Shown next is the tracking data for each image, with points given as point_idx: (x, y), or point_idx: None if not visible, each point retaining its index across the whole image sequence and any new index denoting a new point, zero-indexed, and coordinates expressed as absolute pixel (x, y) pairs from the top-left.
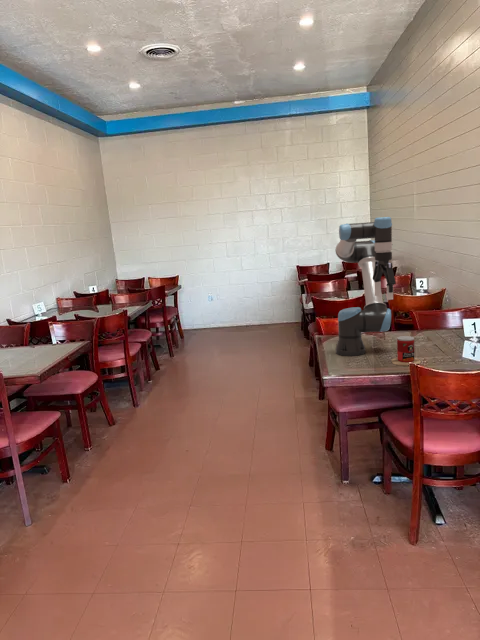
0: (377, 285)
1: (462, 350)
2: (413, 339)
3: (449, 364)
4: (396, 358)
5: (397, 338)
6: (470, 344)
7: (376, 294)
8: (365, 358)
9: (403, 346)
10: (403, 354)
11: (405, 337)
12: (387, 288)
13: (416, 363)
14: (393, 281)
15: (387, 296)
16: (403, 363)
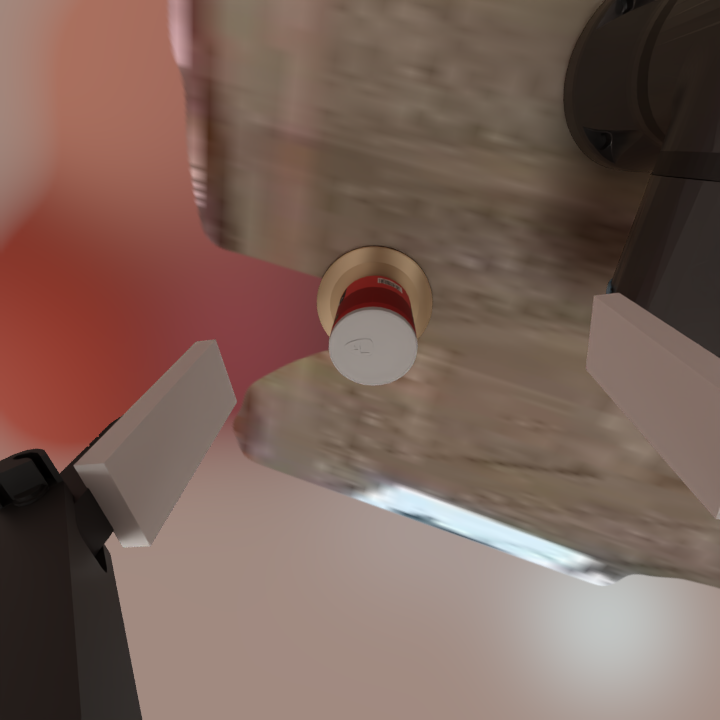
0: (684, 409)
1: (473, 512)
2: (343, 373)
3: (317, 425)
4: (417, 280)
5: (377, 309)
6: (536, 554)
7: (601, 316)
8: (493, 139)
9: (337, 313)
10: (341, 299)
11: (398, 354)
12: (110, 430)
13: (325, 330)
14: None
15: (177, 361)
16: (334, 284)
